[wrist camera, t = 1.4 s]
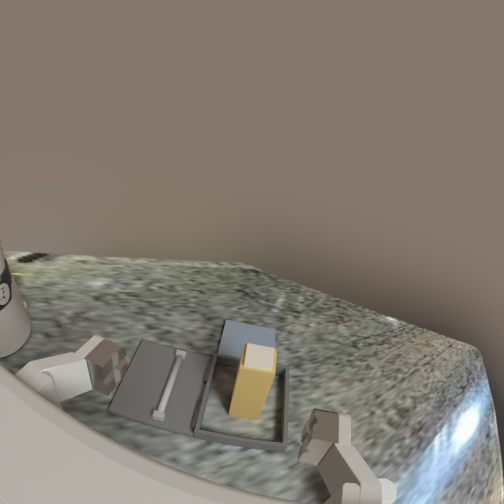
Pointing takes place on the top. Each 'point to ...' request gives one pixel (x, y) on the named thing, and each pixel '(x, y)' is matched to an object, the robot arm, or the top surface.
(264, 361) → the block
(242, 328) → the mat
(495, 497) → the top surface
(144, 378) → the case
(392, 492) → the pill bottle
